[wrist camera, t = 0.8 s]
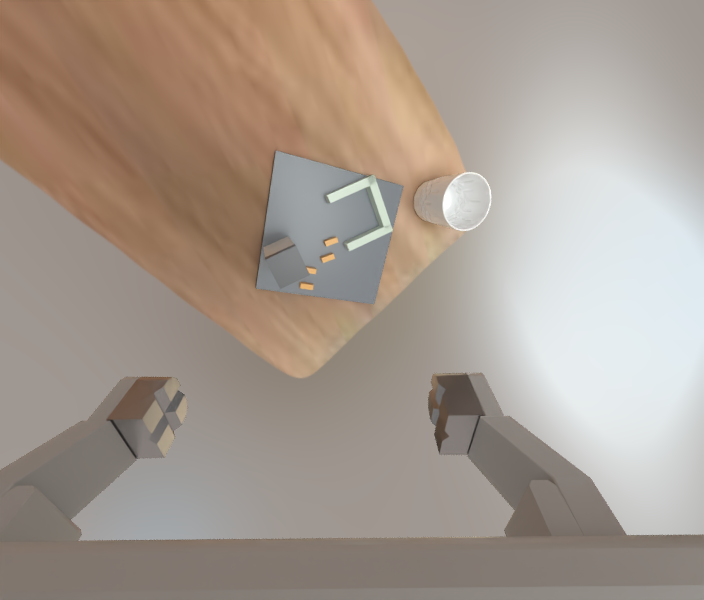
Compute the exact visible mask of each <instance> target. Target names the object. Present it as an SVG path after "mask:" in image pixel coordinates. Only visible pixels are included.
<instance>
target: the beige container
mask: <svg viewBox="0 0 704 600" xmlns="http://www.w3.org/2000/svg"><path fill="white" fill-rule="evenodd" d="M263 248H264V254H265V261H266V263H267V265H268V267H269V269H270V270H271V272H272V274H273V276H274V278H275V280H276V282H277V284H278V286H279V288H280V289H282V288H284V287H286V286H288V285H290V284H292V283H294V282H296V281H299V280H301V279H303V278H305V277H307V276H309V275H310V274H309V272H308V270H307V268H306V266H305V263H304V261H303V259H302V257H301V255H300V253H299V251H298V249H297V246H296V245H295V244H294V243H293V242H292V241H291V239H290V238H289V237H288V236H287V237H285V238H283V239H281V240H278V241H276V242H274V243H272V244H270V245H267V246H265V247H263Z"/></svg>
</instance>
